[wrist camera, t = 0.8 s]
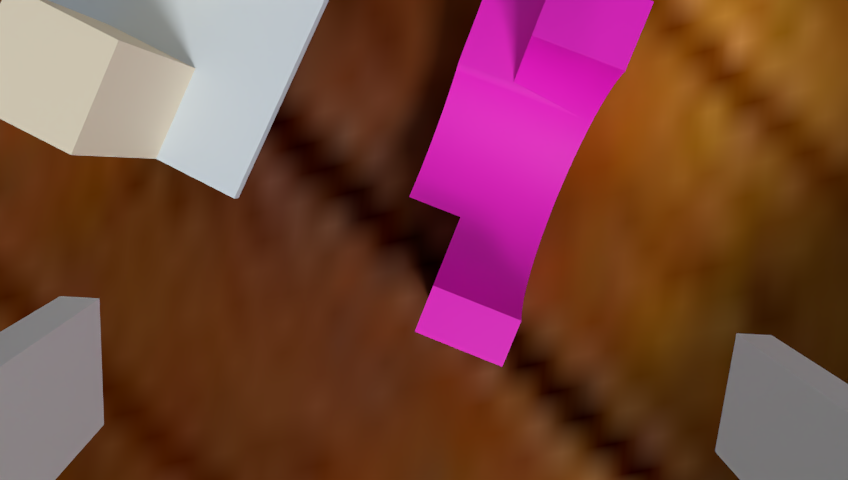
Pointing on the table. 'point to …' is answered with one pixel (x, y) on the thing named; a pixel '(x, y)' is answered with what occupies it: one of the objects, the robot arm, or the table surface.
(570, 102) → the toy block
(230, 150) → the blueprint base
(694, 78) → the table surface
